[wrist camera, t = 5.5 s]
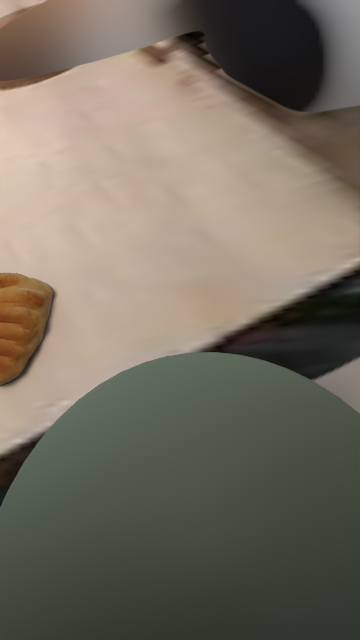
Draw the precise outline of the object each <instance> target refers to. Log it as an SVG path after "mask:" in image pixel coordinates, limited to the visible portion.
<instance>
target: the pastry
mask: <svg viewBox="0 0 360 640" xmlns="http://www.w3.org/2000/svg"><path fill="white" fill-rule="evenodd" d="M52 296H53V295H52V288H51V286H49V285H48V284H47V283H44V282H42V281H39V280H38V279H34V278H28V277H26V276H24V275H21V274H17V273H16V274H15V273H0V385H2V384H5V383H7V382H9V381H11V380H13V379H14V378H16V377H18V376H19V375H20V374H21V373H22V371H23V370H24V369H25V367H26V364H27V361H28V359H29V358H30V356H31V355H32V354H33V353H34V351H35V349H36V348H37V347H38V346H39V344H40V343H41V342H42V340H43V338H44V334H43V333H44V330H45V328H46V324H47V321H48V318H49V315H50V310H51V305H52Z"/></svg>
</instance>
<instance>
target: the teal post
mask: <svg viewBox="0 0 360 640" xmlns="http://www.w3.org/2000/svg"><path fill="white" fill-rule="evenodd" d="M0 640H360V414H359V413H358V412H357V411H355V410H354V409H353V408H352V407H350V406H349V405H348V404H347V403H345V402H344V401H343V400H342V399H340V398H339V397H337V396H336V395H334V394H333V393H331V392H329V391H328V390H326V389H325V388H323V387H321V386H320V385H319V384H317V383H315V382H314V381H312V380H310V379H308V378H306V377H303V376H301V375H299V374H297V373H295V372H293V371H291V370H289V369H286V368H284V367H281V366H278V365H275V364H272V363H270V362H267V361H264V360H260V359H255V358H251V357H246V356H242V355H236V354H226V353H216V352H206V353H186V354H179V355H173V356H166V357H163V358H159V359H155V360H152V361H148V362H145V363H142V364H140V365H137V366H135V367H132V368H130V369H128V370H125V371H123V372H121V373H119V374H117V375H115V376H114V377H112V378H110V379H108V380H107V381H105V382H103V383H101V384H100V385H98V386H97V387H95V388H94V389H93V390H91V391H90V392H89V393H87V394H86V395H85V396H83V397H82V398H80V399H79V400H78V401H77V402H76V403H75V404H74V405H73V406H71V407H70V408H69V409H68V410H67V411H66V412H65V413H64V414H63V415H62V416H61V417H60V418H59V419H58V420H57V421H56V422H55V423H54V424H53V426H52V427H51V428H50V429H49V430H48V431H47V432H46V434H45V435H44V436H43V437H42V438H41V439H40V441H39V442H38V444H37V445H36V446H35V448H34V449H33V451H32V452H31V453H30V455H29V456H28V458H27V459H26V461H25V462H24V463H23V465H22V467H21V469H20V470H19V472H18V474H17V476H16V478H15V479H14V481H13V483H12V485H11V486H10V488H9V490H8V492H7V494H6V496H5V498H4V501H3V503H2V505H1V507H0Z"/></svg>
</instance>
